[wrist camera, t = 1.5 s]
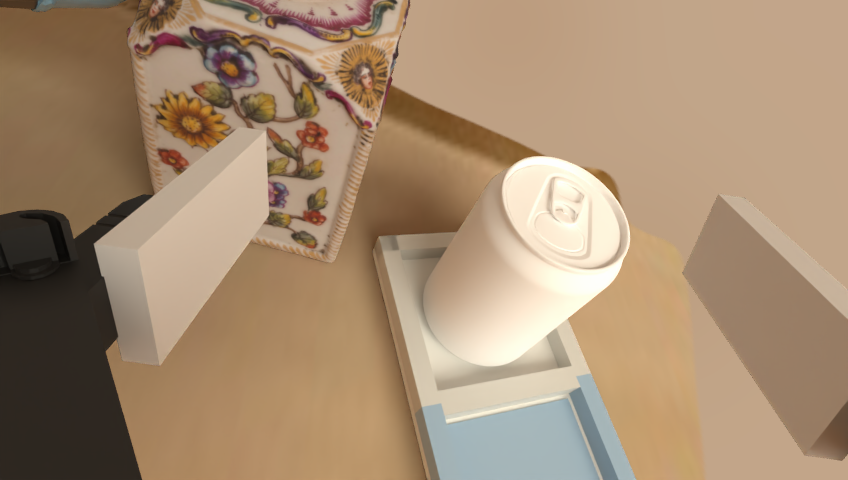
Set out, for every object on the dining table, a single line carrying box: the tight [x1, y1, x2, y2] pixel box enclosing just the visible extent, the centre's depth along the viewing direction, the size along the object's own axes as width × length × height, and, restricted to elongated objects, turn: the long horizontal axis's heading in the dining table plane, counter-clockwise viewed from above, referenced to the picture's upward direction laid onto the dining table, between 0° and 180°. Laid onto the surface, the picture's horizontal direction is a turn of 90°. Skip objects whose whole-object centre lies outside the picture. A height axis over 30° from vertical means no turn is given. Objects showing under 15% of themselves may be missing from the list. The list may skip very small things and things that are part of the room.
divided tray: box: [372, 232, 636, 480], centre depth 32 cm, size 23×12×2 cm, turn 15°
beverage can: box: [423, 156, 630, 366], centre depth 30 cm, size 8×8×12 cm
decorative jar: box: [127, 0, 410, 263], centre depth 29 cm, size 12×12×18 cm
